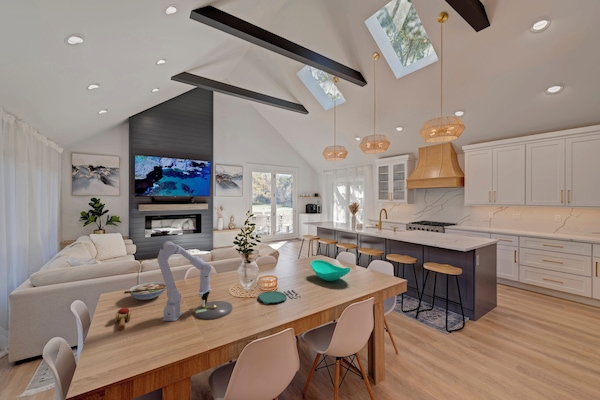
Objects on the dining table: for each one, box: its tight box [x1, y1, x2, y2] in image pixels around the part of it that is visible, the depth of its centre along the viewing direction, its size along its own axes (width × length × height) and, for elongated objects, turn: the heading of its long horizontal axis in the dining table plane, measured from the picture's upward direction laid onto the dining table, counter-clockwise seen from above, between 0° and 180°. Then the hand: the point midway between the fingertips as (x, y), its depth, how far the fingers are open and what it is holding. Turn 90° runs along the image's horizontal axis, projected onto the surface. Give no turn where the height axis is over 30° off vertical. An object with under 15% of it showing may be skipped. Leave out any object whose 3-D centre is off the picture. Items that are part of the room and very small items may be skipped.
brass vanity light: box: [197, 298, 217, 309], centre depth 153 cm, size 11×3×5 cm, turn 89°
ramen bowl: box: [123, 281, 167, 301], centre depth 170 cm, size 25×23×8 cm
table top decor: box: [310, 259, 352, 282], centre depth 216 cm, size 40×28×13 cm
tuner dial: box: [194, 300, 233, 320], centre depth 153 cm, size 22×22×2 cm
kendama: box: [114, 307, 132, 331], centre depth 136 cm, size 8×6×18 cm
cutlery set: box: [257, 289, 300, 306], centre depth 175 cm, size 20×30×2 cm, turn 117°
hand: (204, 303), depth 155 cm, fingers closed, pressing on brass vanity light
